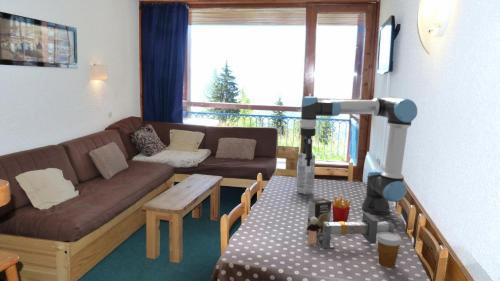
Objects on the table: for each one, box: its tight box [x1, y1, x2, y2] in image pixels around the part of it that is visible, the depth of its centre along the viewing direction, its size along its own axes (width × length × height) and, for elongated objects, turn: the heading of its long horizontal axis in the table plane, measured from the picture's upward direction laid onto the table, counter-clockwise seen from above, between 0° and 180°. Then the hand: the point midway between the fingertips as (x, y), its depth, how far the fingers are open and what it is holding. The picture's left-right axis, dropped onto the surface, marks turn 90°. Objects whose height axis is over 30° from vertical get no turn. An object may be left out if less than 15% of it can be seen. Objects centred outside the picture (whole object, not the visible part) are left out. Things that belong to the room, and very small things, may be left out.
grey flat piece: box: [360, 211, 379, 245], centre depth 178 cm, size 2×10×10 cm, turn 7°
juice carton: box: [296, 152, 316, 195], centre depth 255 cm, size 9×10×27 cm
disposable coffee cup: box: [376, 232, 402, 269], centre depth 160 cm, size 10×10×12 cm
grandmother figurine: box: [304, 217, 321, 246], centre depth 177 cm, size 8×4×13 cm, turn 119°
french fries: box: [330, 196, 352, 222], centre depth 200 cm, size 9×8×15 cm
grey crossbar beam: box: [317, 220, 395, 250], centre depth 178 cm, size 34×8×10 cm, turn 97°
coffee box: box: [306, 198, 332, 237], centre depth 190 cm, size 9×6×16 cm
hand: (306, 169), depth 202 cm, fingers open, 13 cm apart
